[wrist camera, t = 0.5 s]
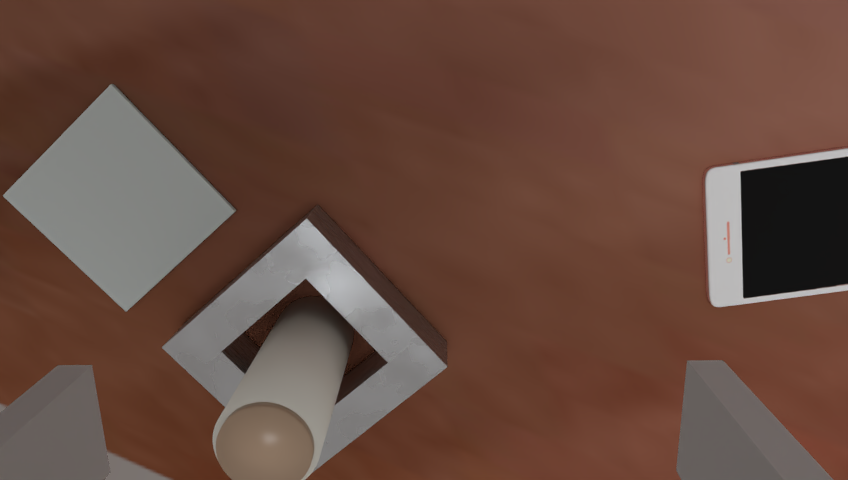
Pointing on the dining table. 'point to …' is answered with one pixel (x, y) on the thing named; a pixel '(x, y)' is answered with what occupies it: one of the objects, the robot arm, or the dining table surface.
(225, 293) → the housing
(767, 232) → the cell phone
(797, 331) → the dining table surface
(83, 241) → the pad
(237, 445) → the off-white cylinder
